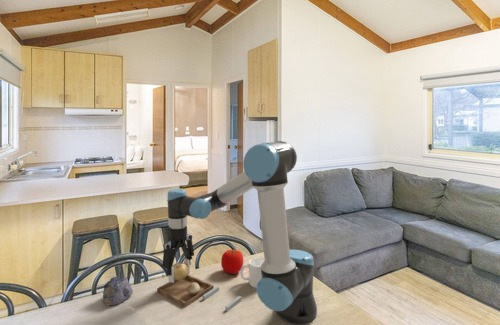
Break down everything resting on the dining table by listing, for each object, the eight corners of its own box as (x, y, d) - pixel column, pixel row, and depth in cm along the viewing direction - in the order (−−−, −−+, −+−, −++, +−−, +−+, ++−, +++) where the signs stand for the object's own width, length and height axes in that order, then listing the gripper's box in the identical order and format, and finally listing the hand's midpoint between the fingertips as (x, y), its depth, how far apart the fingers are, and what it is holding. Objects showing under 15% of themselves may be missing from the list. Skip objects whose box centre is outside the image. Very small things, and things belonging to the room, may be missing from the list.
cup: (268, 289, 128) (268, 266, 126) (240, 288, 128) (240, 266, 126) (267, 278, 136) (267, 257, 134) (241, 278, 136) (241, 257, 135)
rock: (120, 281, 129) (121, 268, 123) (135, 298, 125) (136, 285, 119) (96, 298, 121) (95, 284, 115) (110, 316, 117) (111, 302, 111)
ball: (202, 293, 124) (202, 282, 123) (193, 299, 120) (193, 287, 119) (194, 289, 126) (193, 278, 126) (185, 295, 122) (184, 283, 122)
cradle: (241, 301, 119) (241, 296, 118) (227, 312, 112) (227, 307, 112) (217, 290, 126) (216, 286, 126) (202, 300, 120) (202, 295, 119)
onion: (166, 277, 128) (165, 261, 127) (182, 271, 133) (182, 256, 132) (175, 285, 122) (174, 268, 121) (192, 278, 127) (191, 262, 126)
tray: (213, 289, 127) (213, 285, 127) (185, 308, 115) (185, 303, 114) (185, 277, 137) (185, 273, 137) (157, 292, 125) (157, 288, 125)
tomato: (220, 267, 147) (220, 246, 145) (241, 265, 148) (241, 244, 147) (222, 278, 136) (222, 256, 135) (245, 276, 138) (245, 254, 137)
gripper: (190, 217, 135) (191, 265, 138) (151, 231, 118) (153, 284, 121) (202, 221, 130) (203, 270, 133) (163, 235, 114) (165, 291, 117)
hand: (179, 277), depth 127 cm, fingers closed on onion, 8 cm apart
